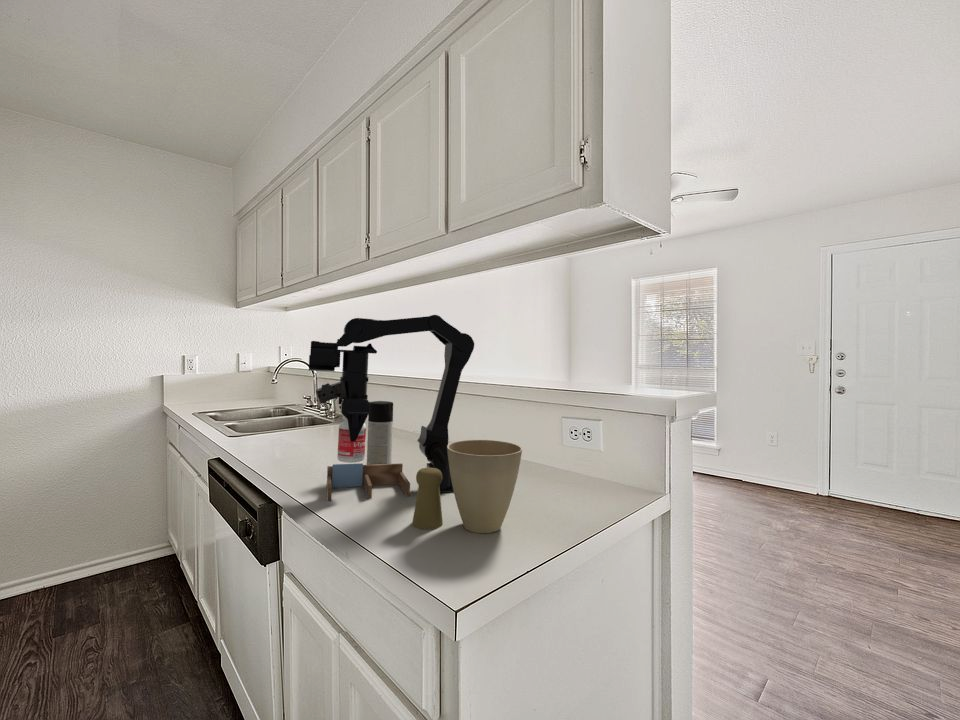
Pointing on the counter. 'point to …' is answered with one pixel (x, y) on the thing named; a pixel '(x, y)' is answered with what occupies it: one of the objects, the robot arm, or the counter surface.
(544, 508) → the counter surface
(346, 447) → the pill bottle
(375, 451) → the spray can
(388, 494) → the counter surface
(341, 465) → the divider rack
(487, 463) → the plant pot
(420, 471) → the olive green peg figure
